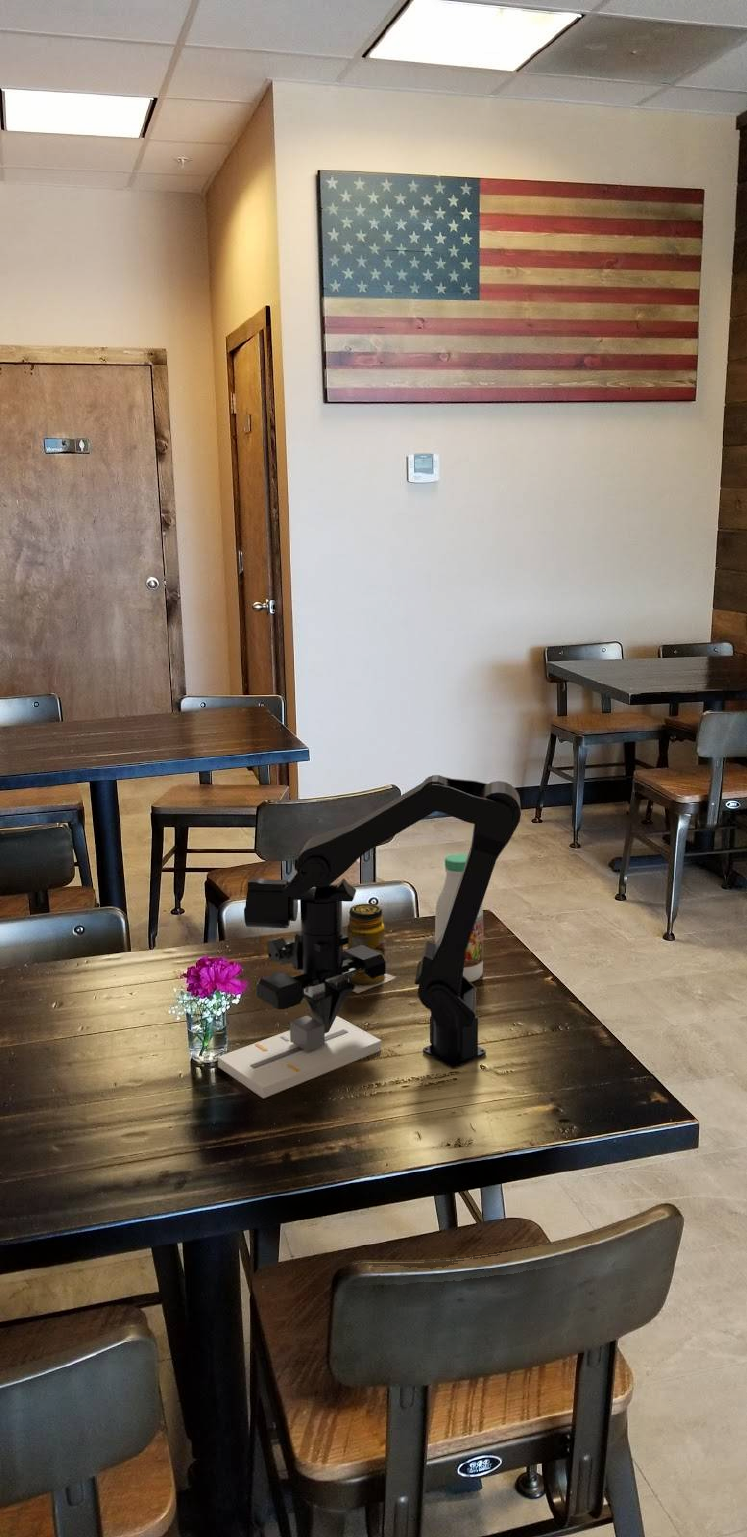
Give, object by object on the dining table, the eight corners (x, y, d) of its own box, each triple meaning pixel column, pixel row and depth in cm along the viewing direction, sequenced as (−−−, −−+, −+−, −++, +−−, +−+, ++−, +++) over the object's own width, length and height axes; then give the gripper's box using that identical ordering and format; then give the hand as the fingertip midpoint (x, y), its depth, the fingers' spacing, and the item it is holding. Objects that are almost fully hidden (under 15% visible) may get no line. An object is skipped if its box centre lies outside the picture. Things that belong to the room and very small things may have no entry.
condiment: (396, 978, 182) (395, 908, 180) (358, 994, 177) (357, 922, 174) (365, 965, 188) (364, 897, 185) (327, 980, 182) (325, 910, 179)
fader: (324, 1045, 156) (324, 1025, 156) (307, 1051, 155) (306, 1031, 154) (307, 1035, 159) (307, 1015, 159) (290, 1041, 158) (289, 1021, 157)
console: (381, 1050, 159) (381, 1039, 158) (263, 1098, 146) (262, 1087, 146) (333, 1023, 167) (333, 1013, 167) (218, 1066, 155) (217, 1056, 154)
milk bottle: (430, 981, 181) (429, 863, 176) (441, 962, 188) (441, 848, 183) (477, 987, 179) (478, 867, 174) (486, 967, 186) (488, 852, 181)
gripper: (340, 897, 167) (342, 994, 171) (232, 928, 155) (237, 1031, 159) (388, 918, 158) (389, 1020, 162) (278, 952, 147) (281, 1061, 151)
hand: (324, 1032), depth 159 cm, fingers closed
